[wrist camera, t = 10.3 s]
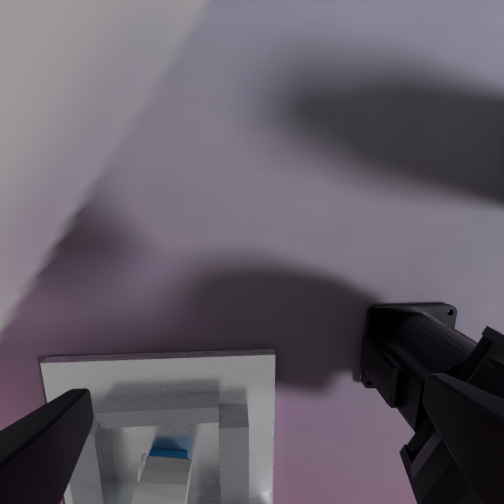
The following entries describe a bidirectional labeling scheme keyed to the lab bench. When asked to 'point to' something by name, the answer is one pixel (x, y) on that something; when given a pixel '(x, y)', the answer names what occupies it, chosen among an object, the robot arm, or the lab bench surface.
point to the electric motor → (163, 478)
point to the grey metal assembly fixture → (173, 421)
